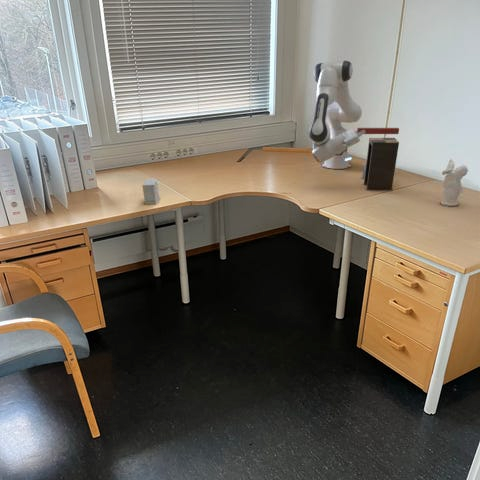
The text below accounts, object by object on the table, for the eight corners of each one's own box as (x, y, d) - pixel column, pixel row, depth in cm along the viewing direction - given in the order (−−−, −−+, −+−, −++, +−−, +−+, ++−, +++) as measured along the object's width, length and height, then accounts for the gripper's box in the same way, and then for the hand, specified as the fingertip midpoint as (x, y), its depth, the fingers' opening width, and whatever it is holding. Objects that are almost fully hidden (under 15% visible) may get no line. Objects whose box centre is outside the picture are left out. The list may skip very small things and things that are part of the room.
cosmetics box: (148, 198, 267) (145, 179, 262) (159, 198, 267) (157, 179, 262) (144, 204, 258) (141, 184, 253) (156, 204, 258) (154, 184, 253)
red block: (356, 133, 263) (357, 127, 262) (397, 133, 262) (398, 127, 260) (357, 134, 261) (358, 128, 259) (398, 134, 259) (399, 128, 258)
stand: (363, 183, 285) (369, 137, 271) (387, 184, 284) (394, 137, 270) (366, 189, 274) (373, 142, 261) (391, 190, 274) (399, 142, 260)
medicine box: (376, 179, 293) (378, 164, 288) (373, 180, 290) (375, 166, 285) (365, 176, 297) (367, 162, 293) (361, 178, 295) (363, 164, 290)
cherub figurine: (463, 206, 248) (473, 162, 237) (442, 208, 245) (451, 165, 234) (448, 199, 258) (457, 157, 247) (428, 201, 255) (436, 159, 244)
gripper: (340, 141, 255) (365, 128, 251) (336, 134, 272) (359, 121, 268) (345, 152, 258) (369, 139, 253) (341, 144, 275) (363, 131, 271)
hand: (364, 130), depth 261 cm, fingers closed on red block, 3 cm apart
